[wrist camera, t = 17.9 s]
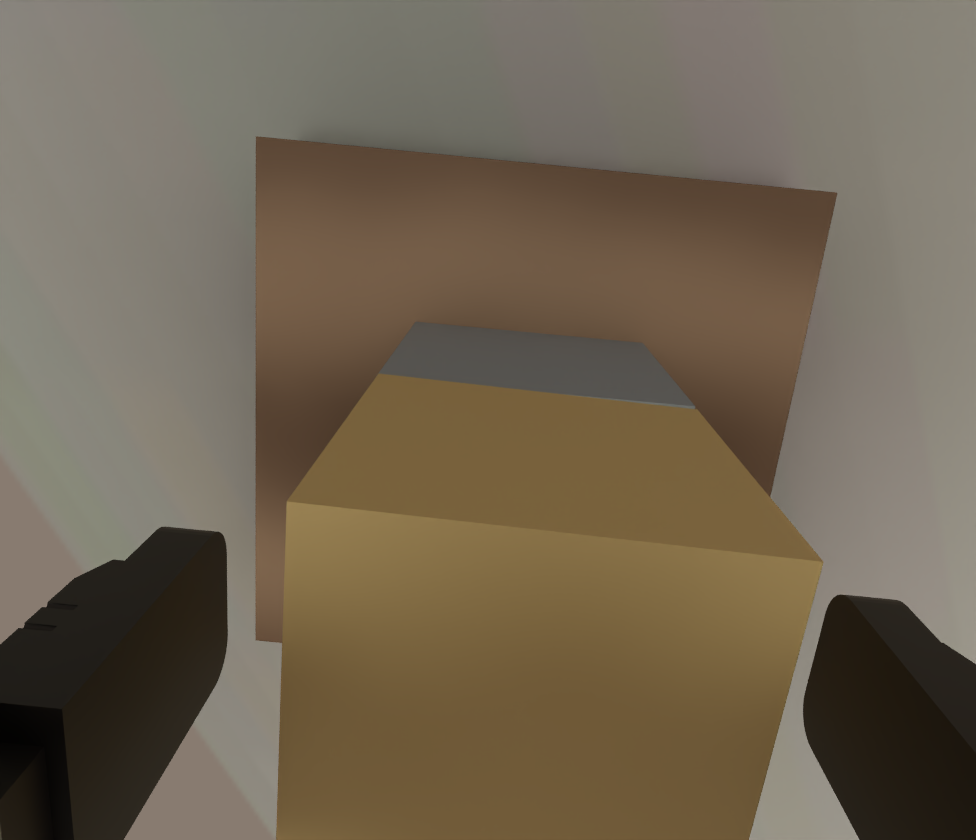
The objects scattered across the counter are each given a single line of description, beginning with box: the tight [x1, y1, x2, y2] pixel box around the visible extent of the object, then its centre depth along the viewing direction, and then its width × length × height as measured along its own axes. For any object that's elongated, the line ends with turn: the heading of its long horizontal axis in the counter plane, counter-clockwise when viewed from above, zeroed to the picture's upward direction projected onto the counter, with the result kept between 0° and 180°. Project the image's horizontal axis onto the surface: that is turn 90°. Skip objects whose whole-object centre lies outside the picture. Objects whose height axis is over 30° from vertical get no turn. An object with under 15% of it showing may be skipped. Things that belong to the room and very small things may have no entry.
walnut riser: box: [256, 137, 837, 643], centre depth 19 cm, size 12×12×3 cm
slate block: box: [378, 322, 695, 409], centre depth 15 cm, size 5×5×5 cm
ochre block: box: [276, 374, 823, 840], centre depth 10 cm, size 5×5×5 cm
